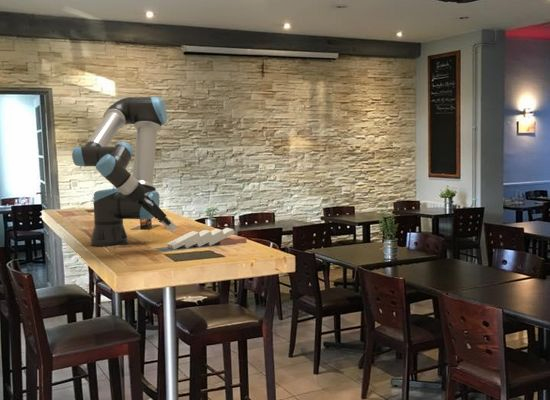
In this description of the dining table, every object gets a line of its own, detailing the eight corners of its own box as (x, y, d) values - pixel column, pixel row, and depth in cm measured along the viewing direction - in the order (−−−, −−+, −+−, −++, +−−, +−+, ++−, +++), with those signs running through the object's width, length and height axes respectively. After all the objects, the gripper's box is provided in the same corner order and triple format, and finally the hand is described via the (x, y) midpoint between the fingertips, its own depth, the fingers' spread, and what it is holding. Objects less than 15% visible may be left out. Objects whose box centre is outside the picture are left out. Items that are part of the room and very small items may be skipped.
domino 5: (220, 240, 249) (246, 238, 255) (214, 238, 254) (239, 236, 260) (220, 245, 249) (246, 242, 255) (214, 243, 254) (239, 240, 260)
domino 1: (172, 245, 238) (198, 232, 243) (166, 243, 243) (192, 230, 249) (174, 249, 238) (200, 236, 244) (168, 247, 244) (194, 234, 249)
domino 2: (184, 244, 241) (210, 231, 246) (178, 242, 246) (204, 229, 251) (186, 248, 241) (212, 235, 247) (180, 246, 246) (205, 233, 252)
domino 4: (208, 242, 246) (233, 229, 251) (202, 240, 251) (226, 227, 256) (210, 246, 246) (234, 233, 252) (203, 244, 252) (228, 231, 257)
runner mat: (153, 249, 242) (153, 248, 242) (225, 242, 259) (225, 241, 259) (162, 253, 234) (162, 251, 234) (236, 245, 251) (236, 244, 250)
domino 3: (197, 243, 243) (222, 230, 249) (191, 241, 249) (215, 228, 254) (198, 247, 244) (223, 234, 249) (192, 245, 249) (217, 232, 254)
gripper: (119, 195, 235) (161, 234, 246) (130, 197, 224) (174, 238, 234) (132, 180, 238) (174, 220, 248) (143, 182, 227) (186, 223, 237)
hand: (174, 229), depth 241 cm, fingers closed
